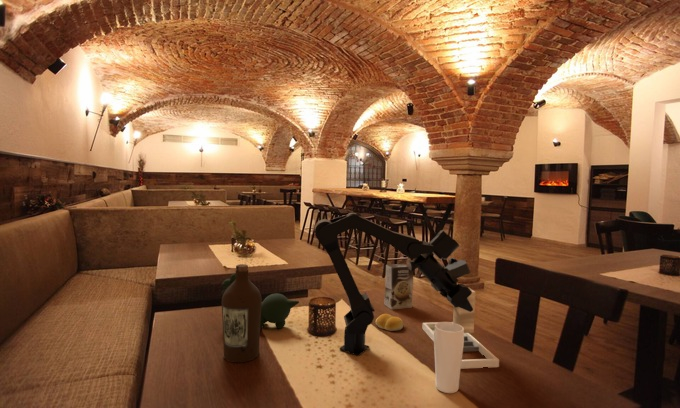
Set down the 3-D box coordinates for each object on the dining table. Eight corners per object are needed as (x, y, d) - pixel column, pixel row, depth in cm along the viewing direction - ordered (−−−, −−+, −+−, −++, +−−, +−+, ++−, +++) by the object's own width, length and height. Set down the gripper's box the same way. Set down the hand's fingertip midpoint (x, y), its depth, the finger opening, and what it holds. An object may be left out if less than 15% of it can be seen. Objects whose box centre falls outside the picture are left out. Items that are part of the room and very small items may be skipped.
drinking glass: (439, 378, 99) (442, 319, 98) (466, 387, 95) (468, 326, 94) (427, 389, 94) (429, 327, 93) (454, 399, 89) (457, 334, 88)
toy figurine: (221, 335, 127) (298, 332, 124) (216, 276, 125) (293, 273, 123) (231, 324, 136) (303, 321, 134) (227, 269, 135) (299, 266, 133)
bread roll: (395, 334, 127) (395, 321, 127) (372, 327, 133) (372, 315, 132) (408, 326, 133) (408, 315, 133) (385, 320, 139) (385, 309, 139)
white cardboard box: (391, 310, 149) (392, 267, 148) (384, 304, 155) (385, 264, 154) (412, 307, 152) (414, 266, 151) (404, 302, 158) (406, 262, 157)
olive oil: (232, 345, 116) (233, 260, 114) (267, 348, 113) (267, 262, 112) (214, 361, 105) (214, 268, 103) (251, 366, 103) (252, 271, 101)
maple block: (473, 332, 115) (475, 292, 114) (458, 332, 114) (460, 292, 113) (467, 326, 119) (469, 287, 118) (452, 327, 119) (454, 287, 118)
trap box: (498, 367, 105) (499, 359, 105) (457, 368, 104) (457, 361, 104) (455, 327, 133) (456, 321, 133) (422, 328, 131) (422, 322, 131)
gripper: (466, 257, 106) (503, 298, 107) (442, 245, 124) (474, 280, 126) (436, 286, 105) (474, 327, 107) (416, 270, 124) (449, 305, 126)
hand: (468, 307), depth 116 cm, fingers closed on maple block, 4 cm apart
